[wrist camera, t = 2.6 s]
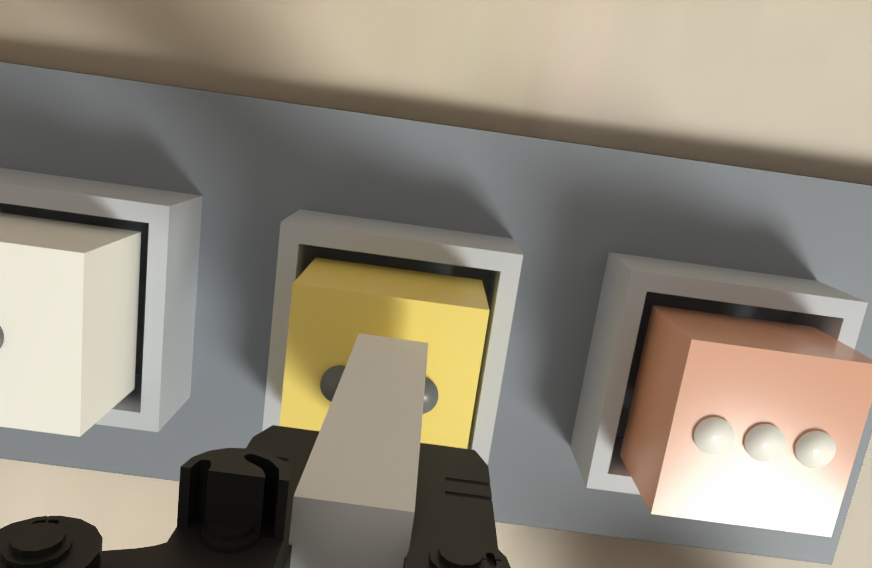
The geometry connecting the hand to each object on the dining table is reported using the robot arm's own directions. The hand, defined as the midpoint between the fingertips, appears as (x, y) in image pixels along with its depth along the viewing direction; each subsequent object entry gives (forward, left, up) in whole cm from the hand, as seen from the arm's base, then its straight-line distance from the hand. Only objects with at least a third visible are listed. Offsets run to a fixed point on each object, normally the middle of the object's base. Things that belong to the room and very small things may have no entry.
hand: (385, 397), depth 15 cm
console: (0, 0, -7) cm, 7 cm away
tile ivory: (-8, +5, -4) cm, 10 cm away
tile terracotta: (+7, -5, -4) cm, 10 cm away
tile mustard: (0, 0, -4) cm, 4 cm away
